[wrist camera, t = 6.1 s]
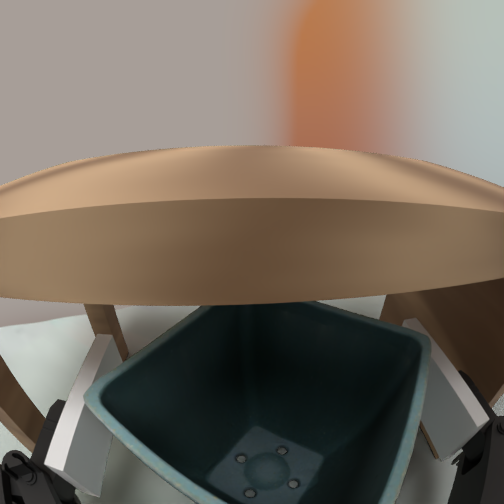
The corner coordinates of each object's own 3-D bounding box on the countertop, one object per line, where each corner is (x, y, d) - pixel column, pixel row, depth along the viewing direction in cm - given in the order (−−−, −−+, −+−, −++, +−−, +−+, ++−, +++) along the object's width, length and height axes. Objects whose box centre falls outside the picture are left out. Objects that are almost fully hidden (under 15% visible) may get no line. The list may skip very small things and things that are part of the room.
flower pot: (298, 568, 6) (366, 570, 2) (150, 485, 10) (74, 390, 6) (369, 443, 12) (433, 332, 9) (243, 393, 17) (241, 274, 13)
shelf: (384, 338, 21) (425, 161, 15) (449, 451, 10) (581, 226, 4) (111, 350, 19) (66, 162, 13) (68, 482, 9) (-98, 239, 3)
